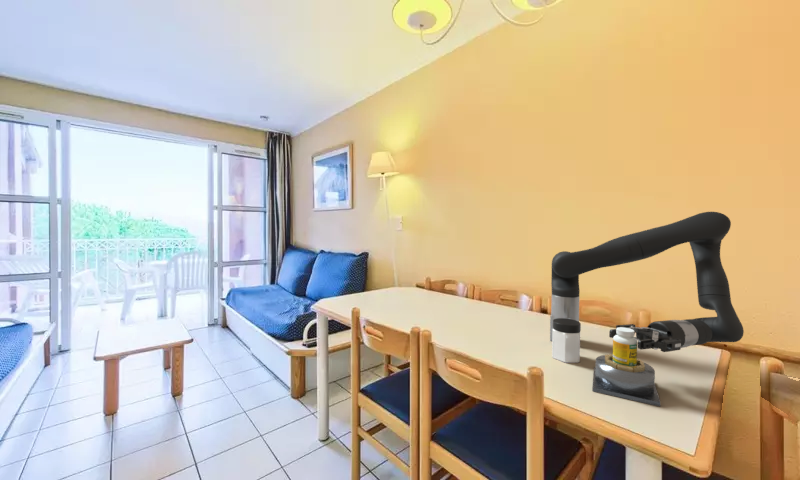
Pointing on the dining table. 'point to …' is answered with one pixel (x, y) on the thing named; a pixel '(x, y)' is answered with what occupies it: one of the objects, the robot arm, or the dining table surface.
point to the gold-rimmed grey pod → (625, 380)
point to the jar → (566, 340)
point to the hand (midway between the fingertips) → (624, 339)
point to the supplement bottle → (625, 347)
